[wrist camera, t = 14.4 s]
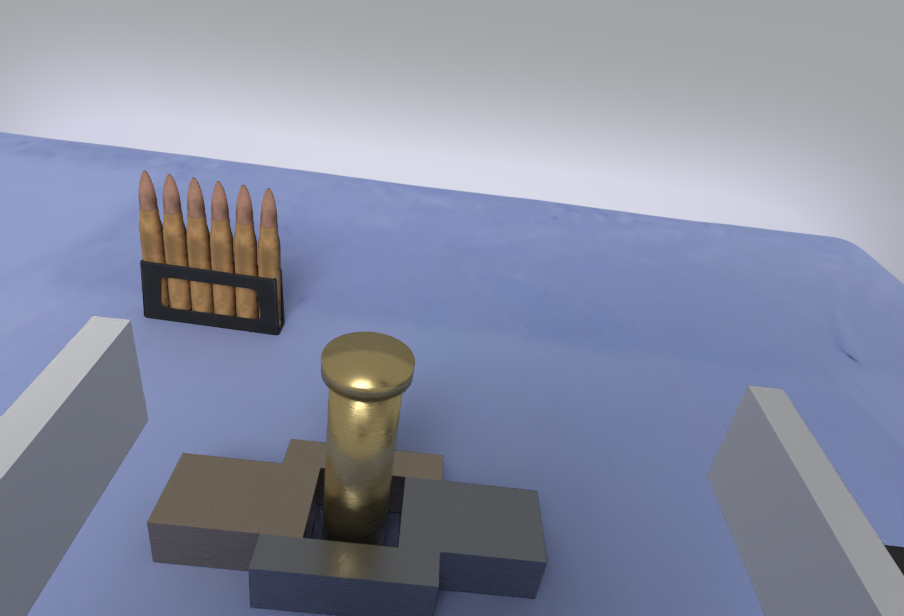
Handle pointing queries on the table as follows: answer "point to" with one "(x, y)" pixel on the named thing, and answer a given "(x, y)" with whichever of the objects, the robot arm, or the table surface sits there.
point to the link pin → (362, 432)
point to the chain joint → (340, 563)
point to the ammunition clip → (210, 260)
